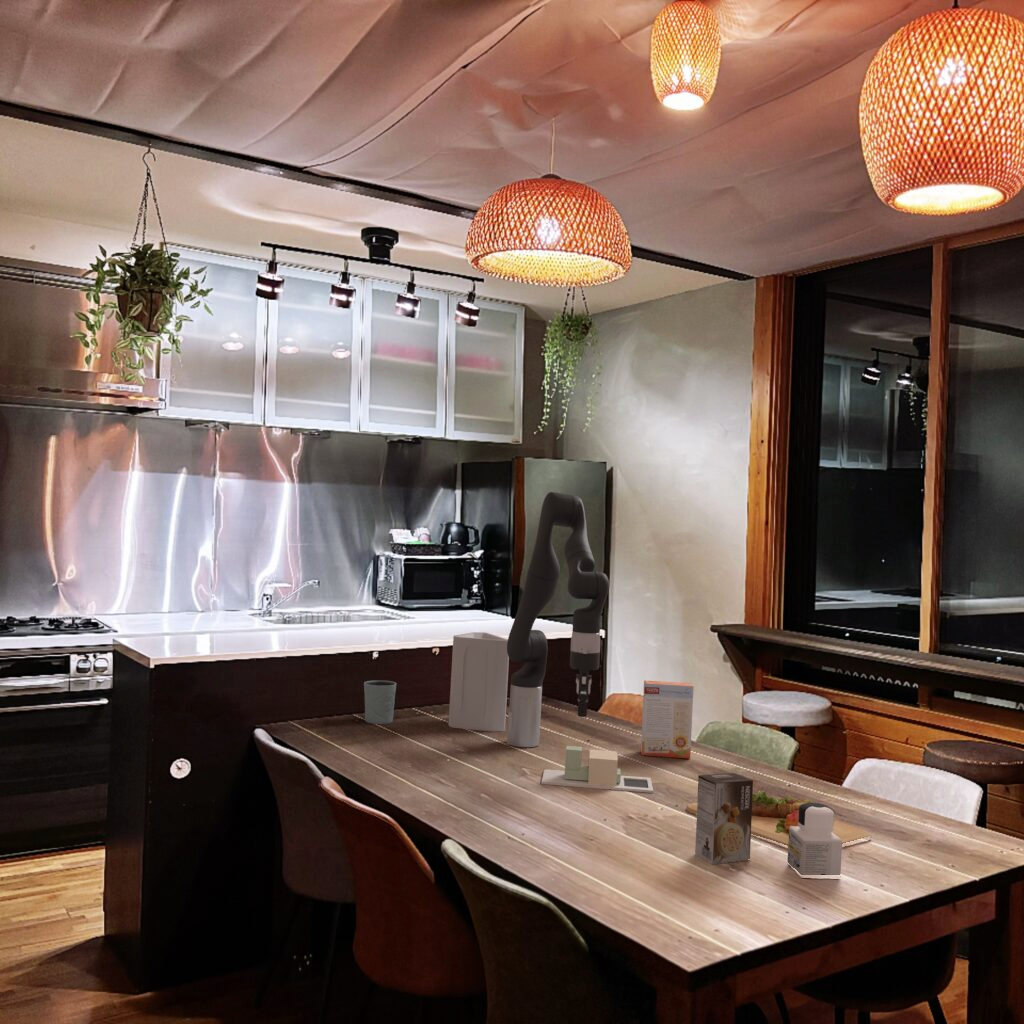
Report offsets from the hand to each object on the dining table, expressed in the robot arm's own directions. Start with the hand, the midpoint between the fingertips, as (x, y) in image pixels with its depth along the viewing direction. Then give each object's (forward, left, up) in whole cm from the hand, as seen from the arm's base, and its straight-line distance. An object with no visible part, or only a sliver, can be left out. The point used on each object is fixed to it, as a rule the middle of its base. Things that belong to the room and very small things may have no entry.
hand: (582, 713), depth 245 cm
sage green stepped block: (+3, -1, -16) cm, 16 cm away
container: (+47, -54, -17) cm, 74 cm away
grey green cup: (-64, +50, -17) cm, 83 cm away
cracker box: (+24, +34, -17) cm, 45 cm away
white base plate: (+5, -1, -17) cm, 18 cm away
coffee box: (+30, -50, -17) cm, 61 cm away
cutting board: (+45, -24, -18) cm, 54 cm away
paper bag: (-35, +54, -17) cm, 66 cm away
